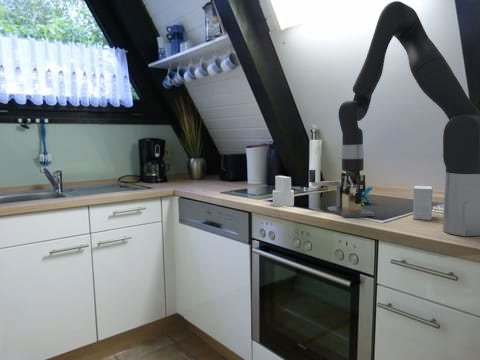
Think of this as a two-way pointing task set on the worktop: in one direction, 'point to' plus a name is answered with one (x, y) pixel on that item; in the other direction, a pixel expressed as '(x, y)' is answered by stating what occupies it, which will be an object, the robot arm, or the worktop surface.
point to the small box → (422, 202)
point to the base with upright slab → (283, 192)
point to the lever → (323, 183)
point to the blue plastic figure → (366, 196)
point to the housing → (350, 202)
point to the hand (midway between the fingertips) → (352, 202)
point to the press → (345, 214)
